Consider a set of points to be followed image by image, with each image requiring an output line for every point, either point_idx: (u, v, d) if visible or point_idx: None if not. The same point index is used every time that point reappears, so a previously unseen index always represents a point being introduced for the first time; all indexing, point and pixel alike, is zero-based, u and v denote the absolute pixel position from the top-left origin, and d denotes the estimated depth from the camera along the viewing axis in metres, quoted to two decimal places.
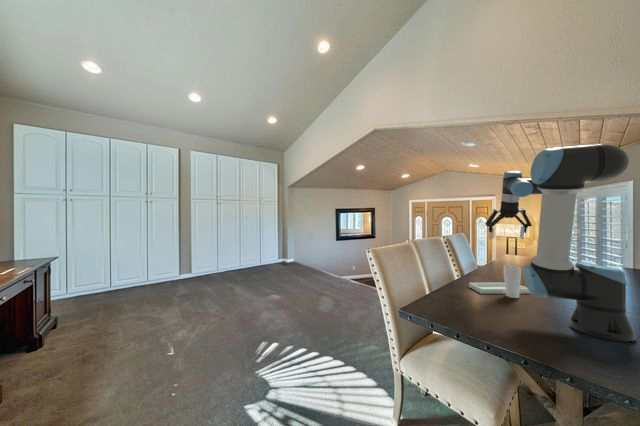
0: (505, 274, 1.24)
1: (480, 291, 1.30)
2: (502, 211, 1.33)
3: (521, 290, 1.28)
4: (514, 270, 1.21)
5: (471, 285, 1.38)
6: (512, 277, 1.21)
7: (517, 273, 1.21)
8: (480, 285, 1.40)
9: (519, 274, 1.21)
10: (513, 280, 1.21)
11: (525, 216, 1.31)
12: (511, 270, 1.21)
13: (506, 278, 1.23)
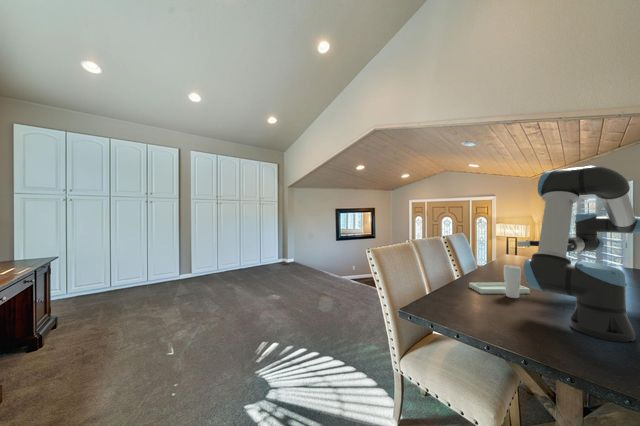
0: (505, 274, 1.24)
1: (480, 291, 1.30)
2: None
3: (521, 290, 1.28)
4: (514, 270, 1.21)
5: (471, 285, 1.38)
6: (512, 277, 1.21)
7: (517, 273, 1.21)
8: (480, 285, 1.40)
9: (519, 274, 1.21)
10: (513, 280, 1.21)
11: (568, 244, 1.19)
12: (511, 270, 1.21)
13: (506, 278, 1.23)
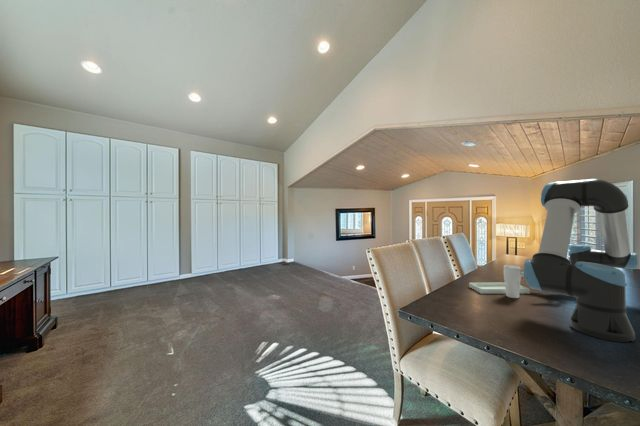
0: (505, 274, 1.24)
1: (480, 291, 1.30)
2: None
3: (521, 290, 1.28)
4: (514, 270, 1.21)
5: (471, 285, 1.38)
6: (512, 277, 1.21)
7: (517, 273, 1.21)
8: (480, 285, 1.40)
9: (519, 274, 1.21)
10: (513, 280, 1.21)
11: None
12: (511, 270, 1.21)
13: (506, 278, 1.23)
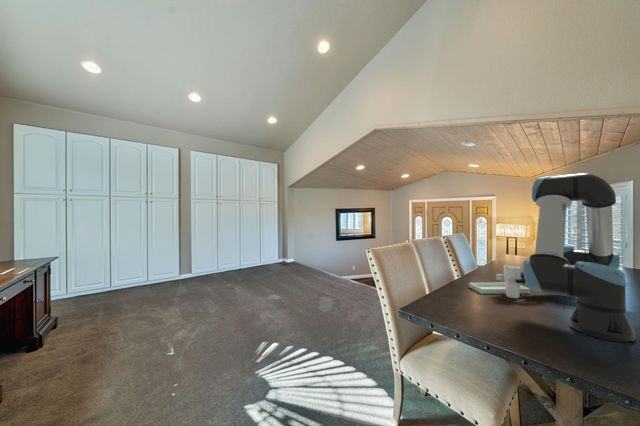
0: (505, 274, 1.24)
1: (480, 291, 1.30)
2: None
3: (521, 290, 1.28)
4: (514, 270, 1.21)
5: (471, 285, 1.38)
6: (512, 277, 1.21)
7: (517, 273, 1.21)
8: (480, 285, 1.40)
9: (519, 274, 1.21)
10: None
11: None
12: (511, 270, 1.21)
13: (506, 278, 1.23)
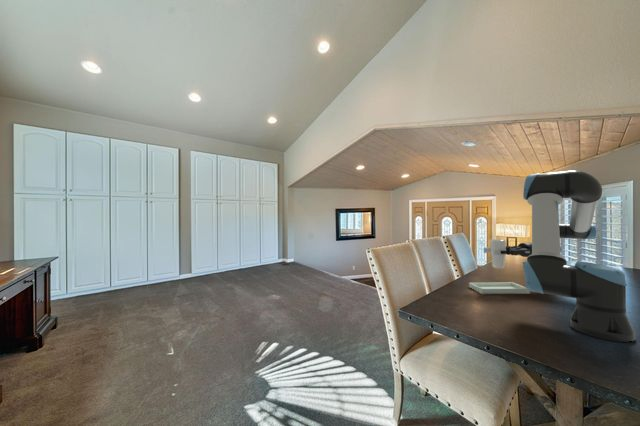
0: (491, 246, 1.34)
1: (480, 291, 1.30)
2: None
3: (521, 290, 1.28)
4: (500, 242, 1.31)
5: (471, 285, 1.38)
6: None
7: (502, 245, 1.31)
8: (480, 285, 1.40)
9: (504, 246, 1.31)
10: None
11: (521, 249, 1.29)
12: (496, 242, 1.32)
13: (492, 250, 1.34)
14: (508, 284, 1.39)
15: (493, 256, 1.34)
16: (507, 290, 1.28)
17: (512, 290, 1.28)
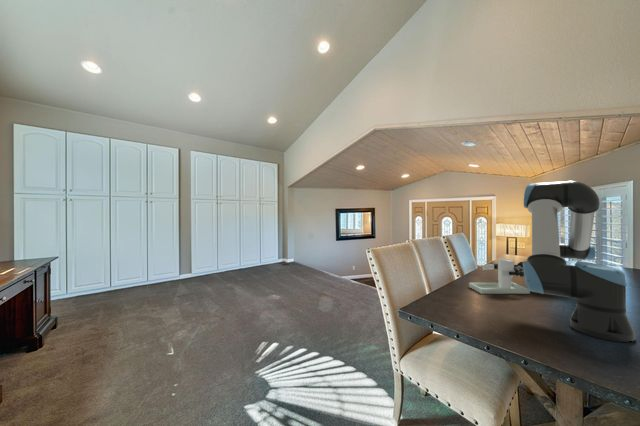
0: (499, 266, 1.31)
1: (480, 291, 1.30)
2: None
3: (521, 290, 1.28)
4: (508, 263, 1.28)
5: (471, 285, 1.38)
6: (505, 269, 1.29)
7: (510, 266, 1.28)
8: (480, 285, 1.40)
9: (512, 267, 1.28)
10: None
11: None
12: (505, 262, 1.29)
13: (500, 270, 1.31)
14: None
15: (500, 276, 1.31)
16: (507, 290, 1.28)
17: (512, 290, 1.28)
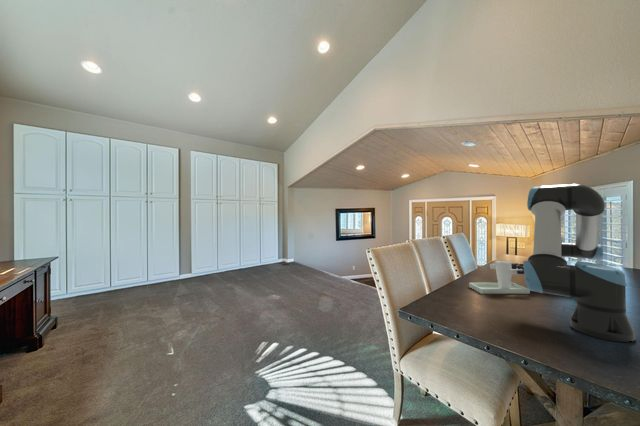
0: (497, 269, 1.32)
1: (480, 291, 1.30)
2: None
3: (521, 290, 1.28)
4: (505, 265, 1.29)
5: (471, 285, 1.38)
6: (503, 272, 1.29)
7: (508, 268, 1.29)
8: (480, 285, 1.40)
9: None
10: (504, 274, 1.29)
11: None
12: (502, 265, 1.30)
13: (498, 273, 1.32)
14: None
15: (499, 279, 1.32)
16: (507, 290, 1.28)
17: (512, 290, 1.28)
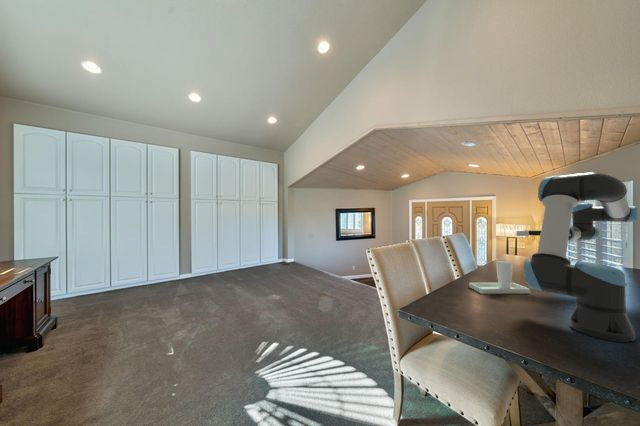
0: (497, 269, 1.32)
1: (480, 291, 1.30)
2: None
3: (521, 290, 1.28)
4: (506, 265, 1.29)
5: (471, 285, 1.38)
6: (504, 272, 1.29)
7: (508, 268, 1.29)
8: (480, 285, 1.40)
9: (510, 269, 1.29)
10: (504, 274, 1.29)
11: None
12: (503, 265, 1.30)
13: (498, 273, 1.32)
14: None
15: (499, 279, 1.32)
16: (507, 290, 1.28)
17: (512, 290, 1.28)
